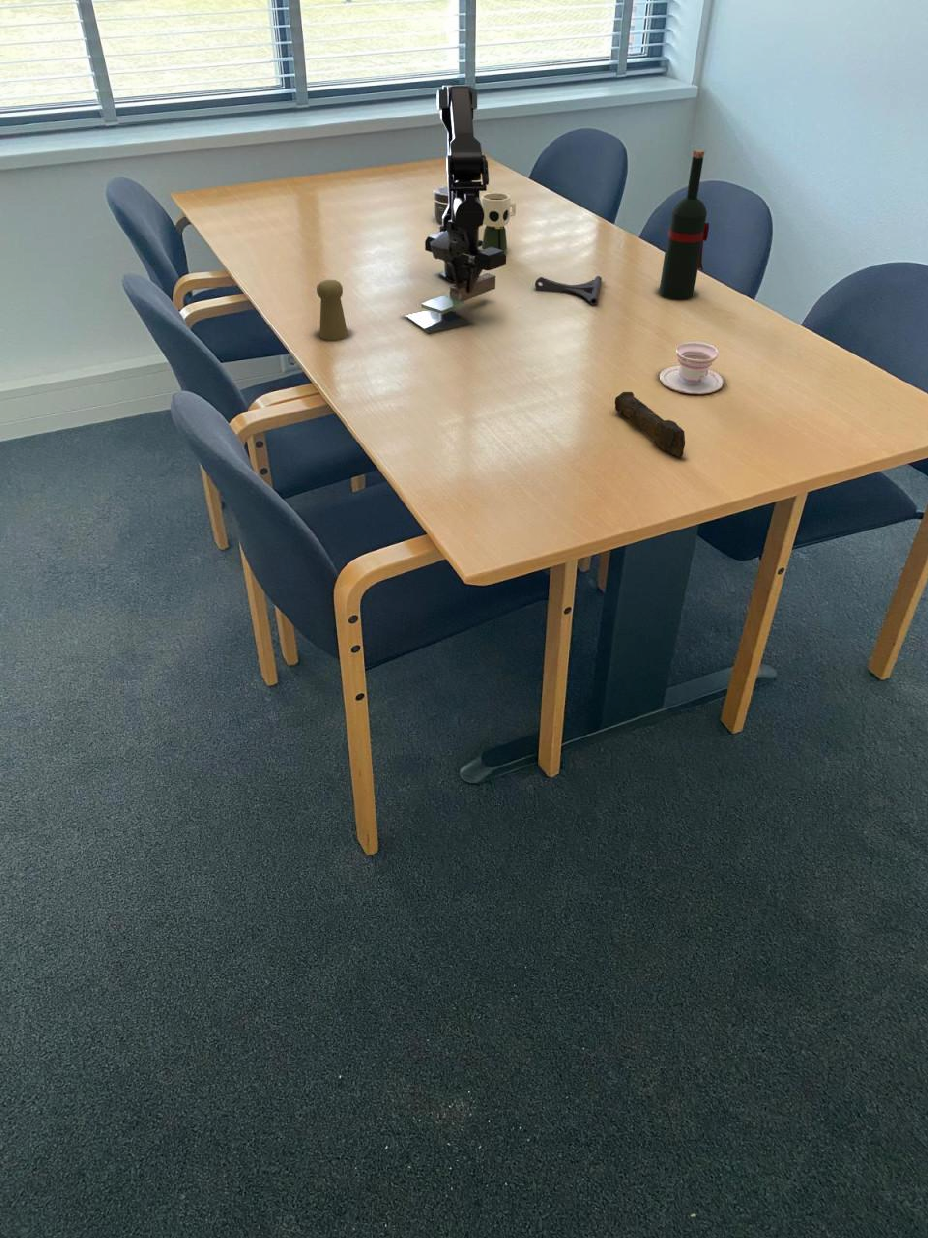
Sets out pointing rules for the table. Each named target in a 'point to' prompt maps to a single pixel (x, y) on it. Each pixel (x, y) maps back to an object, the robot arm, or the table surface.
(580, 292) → the bracket
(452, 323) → the plate
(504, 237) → the character mug
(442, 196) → the jar
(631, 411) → the dark brown long bar
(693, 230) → the wine bottle
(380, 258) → the table surface
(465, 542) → the table surface
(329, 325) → the olive brown pawn
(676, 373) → the teacup
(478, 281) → the spatula
